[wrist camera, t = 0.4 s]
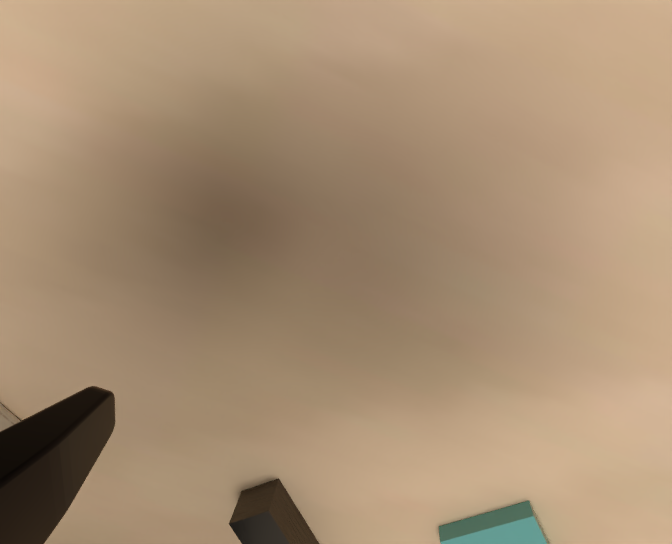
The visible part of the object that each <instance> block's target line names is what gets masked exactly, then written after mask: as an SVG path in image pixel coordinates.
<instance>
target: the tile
mask: <svg viewBox="0 0 672 544" xmlns="http://www.w3.org/2000/svg"><path fill="white" fill-rule="evenodd" d="M439 535H440V543H441V544H549V542H548V539H547V537H546V535H545V533H544V531H543V529H542V527H541V525H540V523H539V521H538V518H537V516H536V514H535V512H534V510H533V508H532V506H531V504H530V502H529V501H526V502H522V503H519V504H515V505H512V506H508V507H505V508H502V509H498V510H495V511H491V512H488V513H484V514H481V515H477V516H474V517H470V518H467V519H464V520H460V521H457V522H453V523H450V524H446V525H443V526H439Z"/></svg>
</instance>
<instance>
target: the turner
mask: <svg viewBox="0 0 672 544" xmlns="http://www.w3.org/2000/svg"><path fill="white" fill-rule="evenodd" d="M229 525H230V526H231V528H232V529H233V531H234V532H235V534H236V535H237V537H238V538H239V540H240V541H241V543H242V544H319V543H318V541H317V539H316V538H315V536H314V534H313V533H312V531H311V530H310V528H309V526H308V525H307V523H306V522H305V520H304V518H303V517H302V515H301V514H300V512H299V510H298V509H297V507H296V506H295V504H294V502H293V501H292V499H291V497H290V496H289V494H288V493H287V491H286V489H285V488H284V486H283V485H282V483H281V481H280V480H279V479H276V480H274V481H271V482H268V483H265V484H262V485H259V486H256V487H253V488H250V489H247V490H244V491H242V492H241V495H240V497H239V500H238V502H237V505H236V507H235V510H234V512H233V515H232V517H231V520H230V522H229Z"/></svg>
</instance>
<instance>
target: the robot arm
mask: <svg viewBox="0 0 672 544" xmlns="http://www.w3.org/2000/svg"><path fill="white" fill-rule="evenodd" d="M114 425H115V397H114V394H113V393H112V392H111V391H108V390H105V389H102V388H99V387H95V386H91V387H88V388H86V389H84V390H82V391H80V392H78V393H76V394H74V395H72V396H70V397H68V398H66V399H64V400H62V401H60V402H58V403H56V404H54V405H52V406H50V407H48V408H46V409H44V410H42V411H40V412H38V413H36V414H34V415H32V416H30V417H28V418H26V419H24V420H22V421H20V422H18V423H16V424H14V425H12V426H10V427H8V428H6V429H4V430H2V431H0V544H44V543H45V541H46V540H47V538H48V537H49V536H50V534H51V533H52V532H53V530H54V529H55V527H56V526H57V525H58V523H59V522H60V520H61V519H62V517H63V516H64V514H65V513H66V511H67V510H68V508H69V506H70V505H71V503H72V502H73V500H74V498H75V496H76V495H77V493H78V491H79V490H80V488H81V486H82V484H83V483H84V481H85V479H86V477H87V476H88V474H89V472H90V470H91V469H92V467H93V465H94V464H95V462H96V460H97V458H98V457H99V455H100V453H101V451H102V450H103V448H104V446H105V444H106V443H107V441H108V439H109V437H110V436H111V434H112V432H113V429H114Z"/></svg>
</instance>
